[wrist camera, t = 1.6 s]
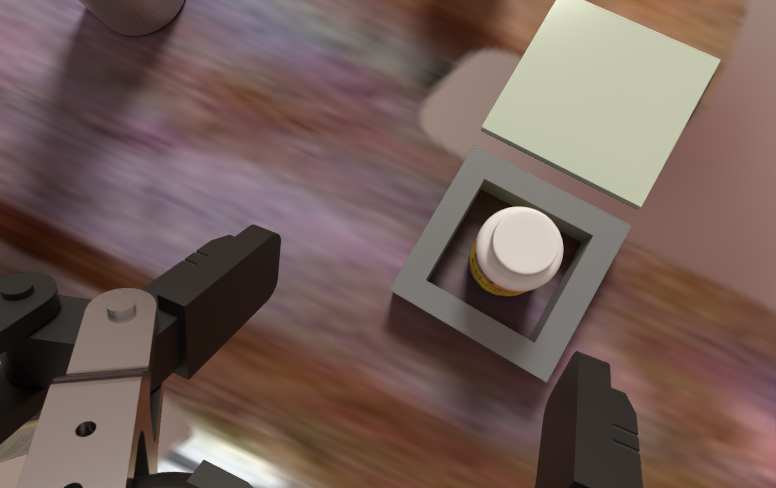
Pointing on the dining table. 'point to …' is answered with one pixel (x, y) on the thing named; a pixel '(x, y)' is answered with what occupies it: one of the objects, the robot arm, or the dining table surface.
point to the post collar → (570, 296)
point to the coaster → (601, 99)
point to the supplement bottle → (515, 252)
